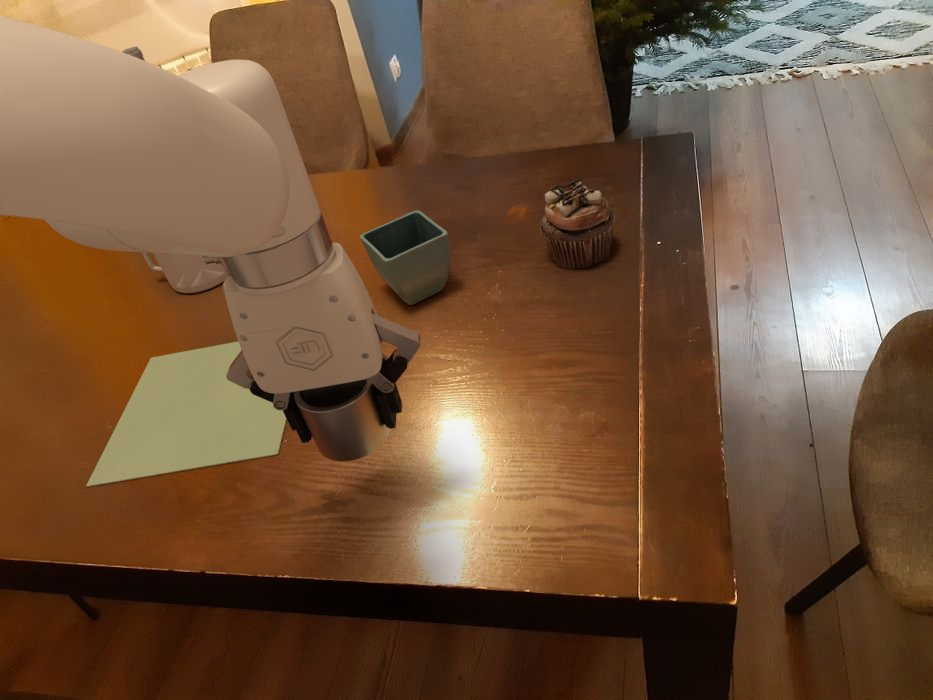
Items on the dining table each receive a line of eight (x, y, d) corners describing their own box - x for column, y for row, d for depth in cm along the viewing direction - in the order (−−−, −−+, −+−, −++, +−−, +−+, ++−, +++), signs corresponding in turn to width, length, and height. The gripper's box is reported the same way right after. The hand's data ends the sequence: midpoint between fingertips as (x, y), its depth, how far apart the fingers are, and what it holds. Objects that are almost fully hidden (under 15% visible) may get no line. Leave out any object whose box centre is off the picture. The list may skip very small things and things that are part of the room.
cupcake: (632, 251, 88) (629, 181, 82) (571, 282, 86) (563, 212, 79) (588, 225, 95) (581, 159, 89) (530, 253, 93) (519, 187, 86)
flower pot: (463, 290, 89) (448, 231, 83) (404, 320, 86) (385, 261, 81) (432, 265, 95) (417, 208, 90) (377, 291, 93) (358, 235, 87)
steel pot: (389, 455, 57) (369, 403, 53) (311, 467, 57) (286, 417, 54) (393, 400, 62) (376, 350, 59) (322, 412, 63) (300, 363, 59)
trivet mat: (278, 454, 72) (277, 453, 72) (86, 487, 74) (85, 486, 74) (308, 329, 89) (307, 328, 89) (151, 358, 91) (150, 357, 91)
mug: (248, 251, 110) (222, 196, 104) (227, 289, 102) (198, 231, 95) (171, 264, 112) (141, 210, 106) (145, 302, 104) (111, 246, 97)
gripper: (145, 299, 46) (246, 472, 57) (393, 252, 45) (449, 439, 55) (178, 244, 52) (264, 411, 63) (398, 202, 51) (447, 380, 61)
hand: (350, 423), depth 59 cm, fingers closed on steel pot, 6 cm apart
